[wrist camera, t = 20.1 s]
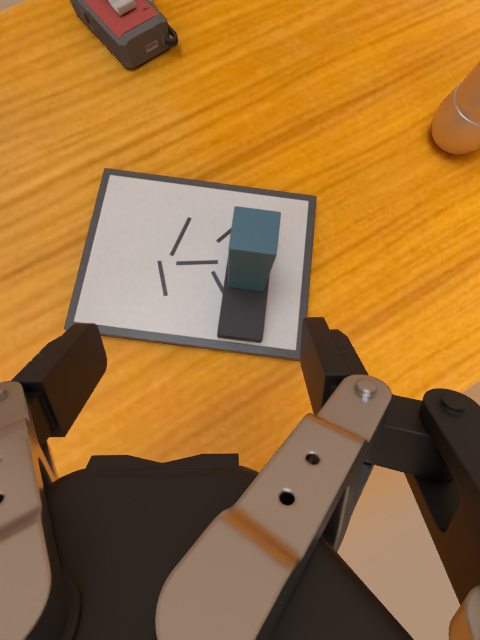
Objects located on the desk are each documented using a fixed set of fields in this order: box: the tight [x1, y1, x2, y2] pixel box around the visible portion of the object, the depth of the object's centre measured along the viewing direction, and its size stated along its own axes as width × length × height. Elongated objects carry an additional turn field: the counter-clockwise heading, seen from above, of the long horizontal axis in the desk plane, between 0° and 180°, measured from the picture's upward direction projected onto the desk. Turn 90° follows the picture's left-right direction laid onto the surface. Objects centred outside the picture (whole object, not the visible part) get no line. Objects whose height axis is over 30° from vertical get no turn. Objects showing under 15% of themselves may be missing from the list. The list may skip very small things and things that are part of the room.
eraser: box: [217, 206, 281, 343], centre depth 26 cm, size 12×4×10 cm, turn 173°
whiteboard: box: [64, 168, 316, 361], centre depth 31 cm, size 17×22×1 cm
